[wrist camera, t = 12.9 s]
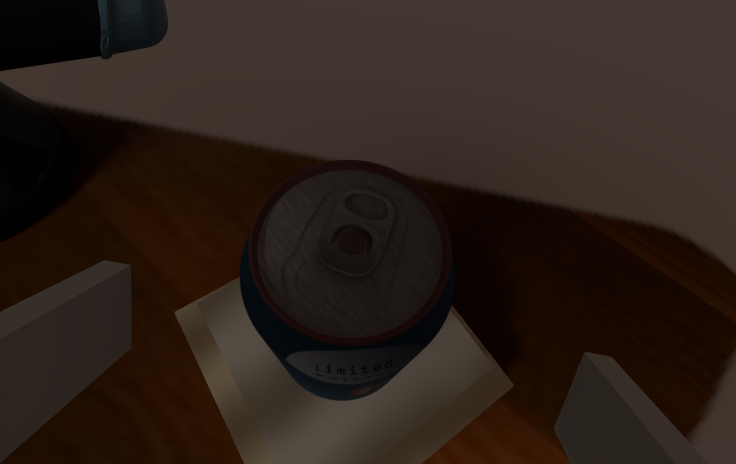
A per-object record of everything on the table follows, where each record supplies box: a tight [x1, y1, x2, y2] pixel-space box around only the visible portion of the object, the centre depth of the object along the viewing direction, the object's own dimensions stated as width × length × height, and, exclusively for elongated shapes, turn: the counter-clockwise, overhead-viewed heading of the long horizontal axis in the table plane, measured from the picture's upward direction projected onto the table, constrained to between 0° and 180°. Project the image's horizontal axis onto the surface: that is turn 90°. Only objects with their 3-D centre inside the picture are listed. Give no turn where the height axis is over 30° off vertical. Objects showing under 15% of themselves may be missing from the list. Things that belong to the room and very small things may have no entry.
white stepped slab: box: [174, 277, 514, 464], centre depth 25 cm, size 16×16×8 cm
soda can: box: [240, 160, 455, 401], centre depth 16 cm, size 7×7×12 cm
